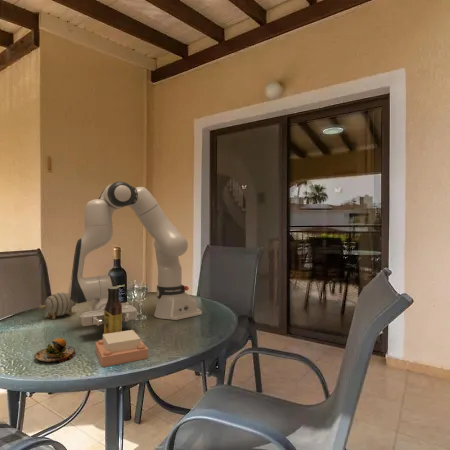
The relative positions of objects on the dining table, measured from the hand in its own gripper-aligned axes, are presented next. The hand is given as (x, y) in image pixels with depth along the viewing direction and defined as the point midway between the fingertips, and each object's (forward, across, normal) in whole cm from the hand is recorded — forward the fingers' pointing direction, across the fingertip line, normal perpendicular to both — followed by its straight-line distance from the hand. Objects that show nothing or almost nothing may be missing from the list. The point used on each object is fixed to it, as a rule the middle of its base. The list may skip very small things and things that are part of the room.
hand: (113, 321), depth 119 cm
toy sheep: (-45, -16, +8) cm, 48 cm away
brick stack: (+13, 0, +8) cm, 15 cm away
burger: (+5, -19, +8) cm, 21 cm away
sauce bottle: (-1, 0, +8) cm, 8 cm away
